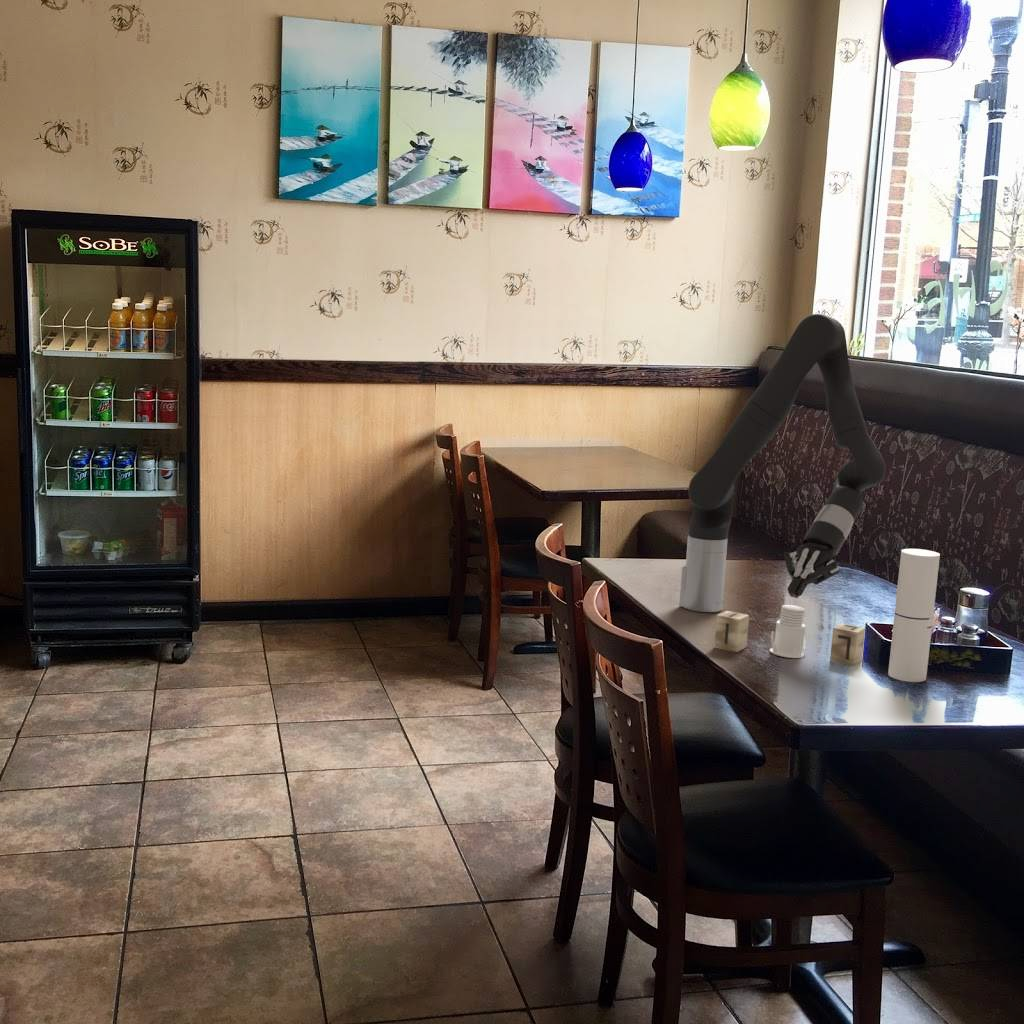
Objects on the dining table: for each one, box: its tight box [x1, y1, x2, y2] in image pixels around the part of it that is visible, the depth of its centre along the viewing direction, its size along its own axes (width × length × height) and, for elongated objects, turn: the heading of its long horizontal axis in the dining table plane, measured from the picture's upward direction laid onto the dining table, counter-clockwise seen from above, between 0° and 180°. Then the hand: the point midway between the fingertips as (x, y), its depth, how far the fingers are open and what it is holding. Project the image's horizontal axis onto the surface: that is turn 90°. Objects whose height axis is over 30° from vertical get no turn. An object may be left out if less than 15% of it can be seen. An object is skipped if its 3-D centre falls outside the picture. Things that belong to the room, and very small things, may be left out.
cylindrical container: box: [887, 548, 941, 683], centre depth 232 cm, size 7×7×25 cm
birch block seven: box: [829, 622, 866, 667], centre depth 243 cm, size 5×5×7 cm
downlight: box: [769, 604, 807, 659], centre depth 245 cm, size 8×7×10 cm
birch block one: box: [714, 610, 750, 653], centre depth 248 cm, size 5×5×7 cm
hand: (792, 595), depth 244 cm, fingers closed
